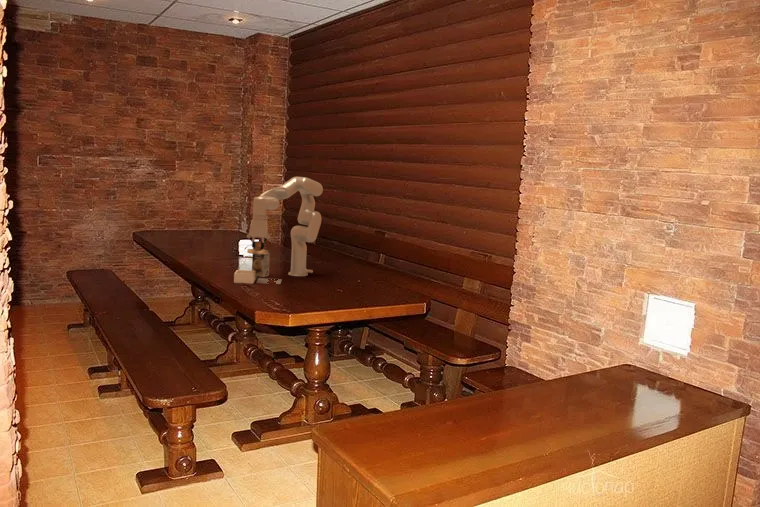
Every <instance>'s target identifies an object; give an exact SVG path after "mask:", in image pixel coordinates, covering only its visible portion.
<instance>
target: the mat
mask: <svg viewBox="0 0 760 507" xmlns="http://www.w3.org/2000/svg"><path fill="white" fill-rule="evenodd" d="M268 279H269V278H264V277H259V278H257V280H256V281H255V282H256V284H268V283H267V282H268V281H269V280H268ZM270 279H271V280H272V279H274V280H275V279H276V278H270ZM277 279H278V280H277V281H274V282H276V284H275V285H281V283H282V281H283V280H282V278H280V279H279V278H277Z"/></svg>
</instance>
